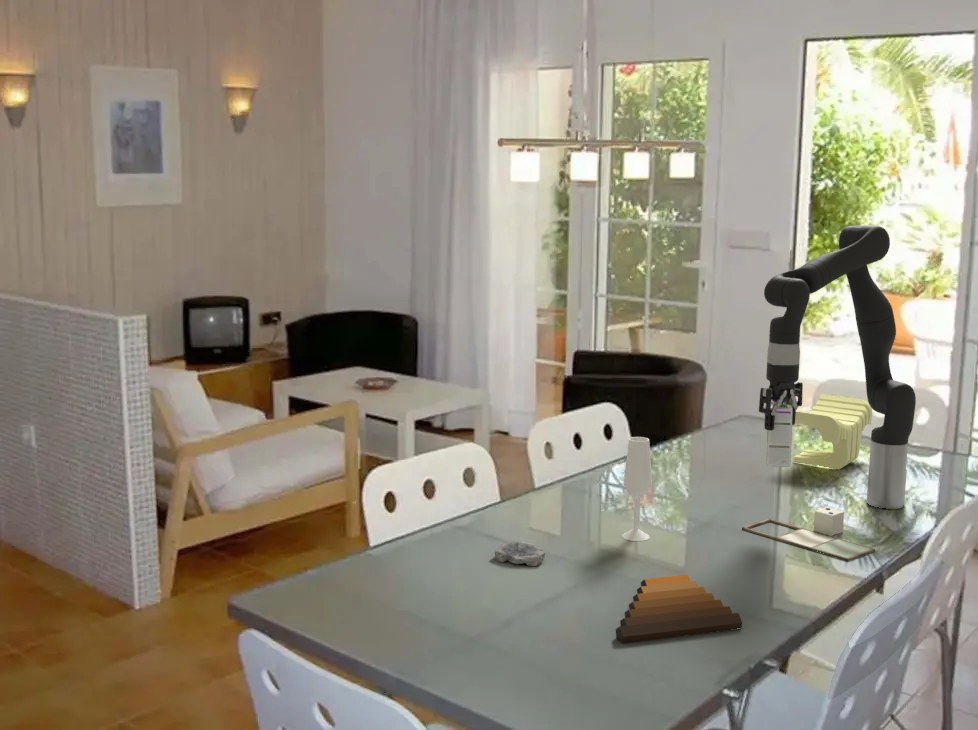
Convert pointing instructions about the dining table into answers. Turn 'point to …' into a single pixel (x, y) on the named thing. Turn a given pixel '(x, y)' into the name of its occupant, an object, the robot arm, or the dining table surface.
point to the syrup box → (780, 438)
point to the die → (828, 521)
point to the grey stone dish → (520, 553)
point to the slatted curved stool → (835, 429)
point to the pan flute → (674, 611)
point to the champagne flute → (637, 480)
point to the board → (816, 542)
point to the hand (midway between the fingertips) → (779, 427)
